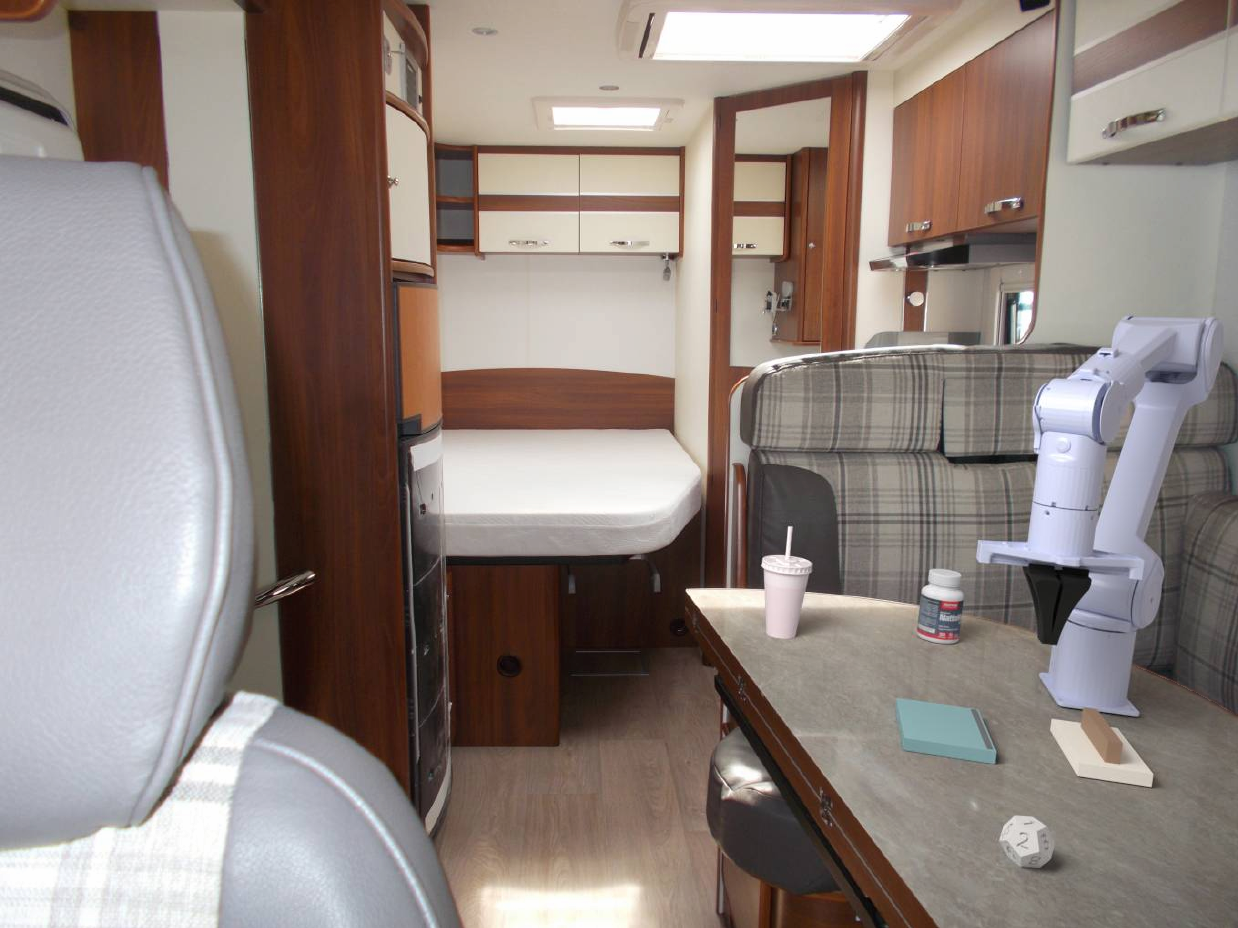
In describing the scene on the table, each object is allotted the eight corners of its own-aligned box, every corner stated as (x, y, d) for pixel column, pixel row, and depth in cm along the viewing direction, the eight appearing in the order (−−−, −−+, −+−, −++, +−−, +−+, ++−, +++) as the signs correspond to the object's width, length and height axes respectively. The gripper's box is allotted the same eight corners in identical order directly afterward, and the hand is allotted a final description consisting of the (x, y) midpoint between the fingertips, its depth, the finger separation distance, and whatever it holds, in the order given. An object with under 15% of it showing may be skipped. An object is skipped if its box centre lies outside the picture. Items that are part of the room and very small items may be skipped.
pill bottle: (938, 646, 113) (946, 578, 112) (907, 633, 118) (915, 568, 117) (967, 642, 116) (975, 576, 115) (936, 629, 120) (943, 566, 119)
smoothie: (806, 629, 117) (816, 525, 115) (805, 645, 111) (815, 535, 109) (757, 623, 118) (766, 520, 116) (753, 638, 112) (762, 529, 110)
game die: (987, 850, 67) (991, 812, 66) (1027, 844, 68) (1032, 807, 67) (1021, 877, 63) (1026, 838, 63) (1062, 871, 64) (1068, 832, 64)
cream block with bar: (1050, 730, 89) (1054, 699, 89) (1115, 739, 88) (1120, 708, 87) (1077, 775, 79) (1082, 741, 79) (1151, 786, 78) (1156, 752, 78)
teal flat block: (895, 708, 92) (896, 696, 92) (976, 720, 91) (978, 708, 90) (903, 750, 83) (904, 736, 82) (994, 764, 81) (996, 750, 81)
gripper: (992, 504, 83) (975, 644, 85) (1164, 520, 80) (1142, 665, 82) (979, 492, 90) (964, 622, 92) (1137, 507, 87) (1118, 641, 89)
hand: (1047, 641), depth 87 cm, fingers closed
